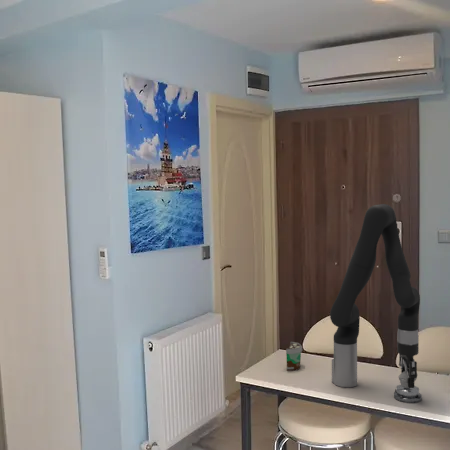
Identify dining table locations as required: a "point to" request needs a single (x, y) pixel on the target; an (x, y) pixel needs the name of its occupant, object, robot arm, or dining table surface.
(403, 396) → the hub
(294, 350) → the food container
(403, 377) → the frog figurine
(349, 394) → the dining table surface
